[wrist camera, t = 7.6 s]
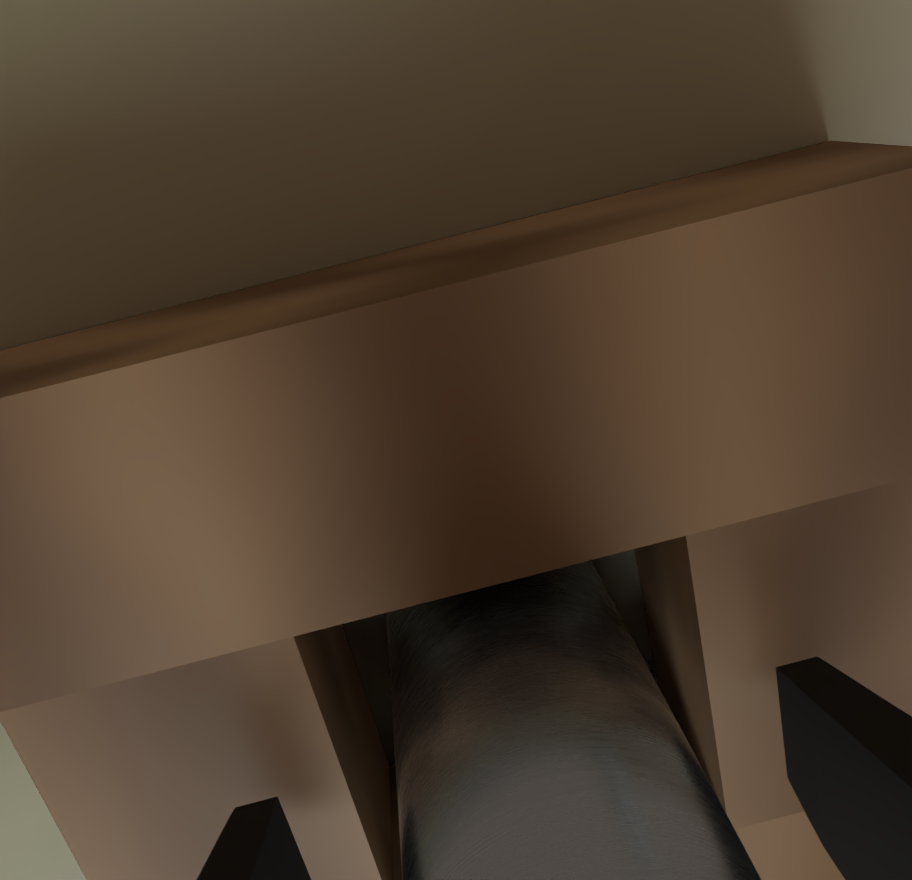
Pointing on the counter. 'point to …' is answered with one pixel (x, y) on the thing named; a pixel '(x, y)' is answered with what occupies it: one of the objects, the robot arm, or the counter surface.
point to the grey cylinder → (544, 744)
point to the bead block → (462, 499)
